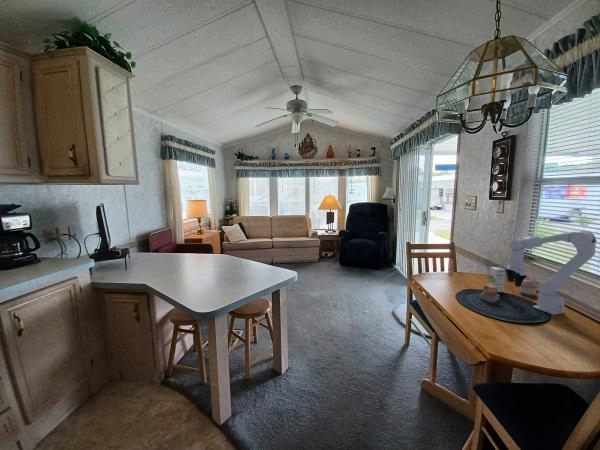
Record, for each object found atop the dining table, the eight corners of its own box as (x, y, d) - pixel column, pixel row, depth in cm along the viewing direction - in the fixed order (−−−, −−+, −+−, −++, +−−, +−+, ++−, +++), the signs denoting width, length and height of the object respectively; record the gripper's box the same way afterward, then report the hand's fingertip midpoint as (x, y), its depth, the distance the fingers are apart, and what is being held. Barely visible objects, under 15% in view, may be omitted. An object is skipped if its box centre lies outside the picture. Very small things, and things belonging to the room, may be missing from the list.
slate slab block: (499, 301, 146) (499, 295, 145) (492, 303, 143) (492, 297, 143) (486, 296, 152) (487, 291, 151) (480, 299, 149) (480, 293, 148)
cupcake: (513, 290, 159) (514, 275, 158) (528, 290, 159) (530, 275, 158) (525, 296, 150) (527, 280, 149) (542, 296, 150) (544, 280, 148)
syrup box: (504, 292, 157) (506, 269, 155) (494, 292, 157) (496, 269, 155) (497, 288, 163) (499, 266, 161) (487, 288, 163) (489, 266, 161)
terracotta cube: (496, 295, 145) (497, 286, 144) (489, 295, 145) (490, 287, 144) (490, 292, 150) (490, 284, 149) (483, 292, 149) (483, 284, 148)
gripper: (501, 256, 152) (499, 279, 153) (514, 263, 138) (512, 287, 139) (515, 257, 150) (513, 279, 151) (530, 264, 136) (528, 288, 138)
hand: (514, 283), depth 145 cm, fingers open, 7 cm apart
